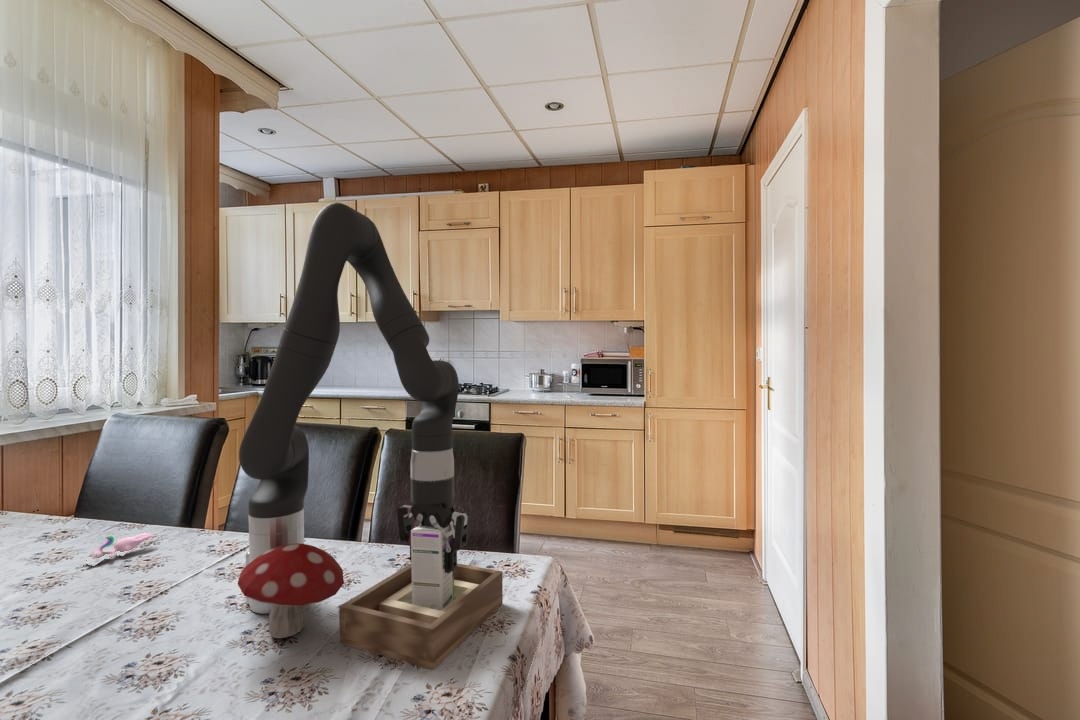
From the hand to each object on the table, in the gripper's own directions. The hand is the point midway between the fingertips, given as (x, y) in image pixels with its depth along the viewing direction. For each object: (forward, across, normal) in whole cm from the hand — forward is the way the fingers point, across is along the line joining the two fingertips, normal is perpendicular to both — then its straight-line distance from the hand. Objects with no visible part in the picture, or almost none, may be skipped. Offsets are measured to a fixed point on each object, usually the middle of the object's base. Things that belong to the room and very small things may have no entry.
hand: (433, 568), depth 92 cm
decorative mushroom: (+9, +18, +14) cm, 24 cm away
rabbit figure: (+9, +82, +6) cm, 83 cm away
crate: (+9, 0, +2) cm, 9 cm away
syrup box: (+7, 0, 0) cm, 7 cm away
